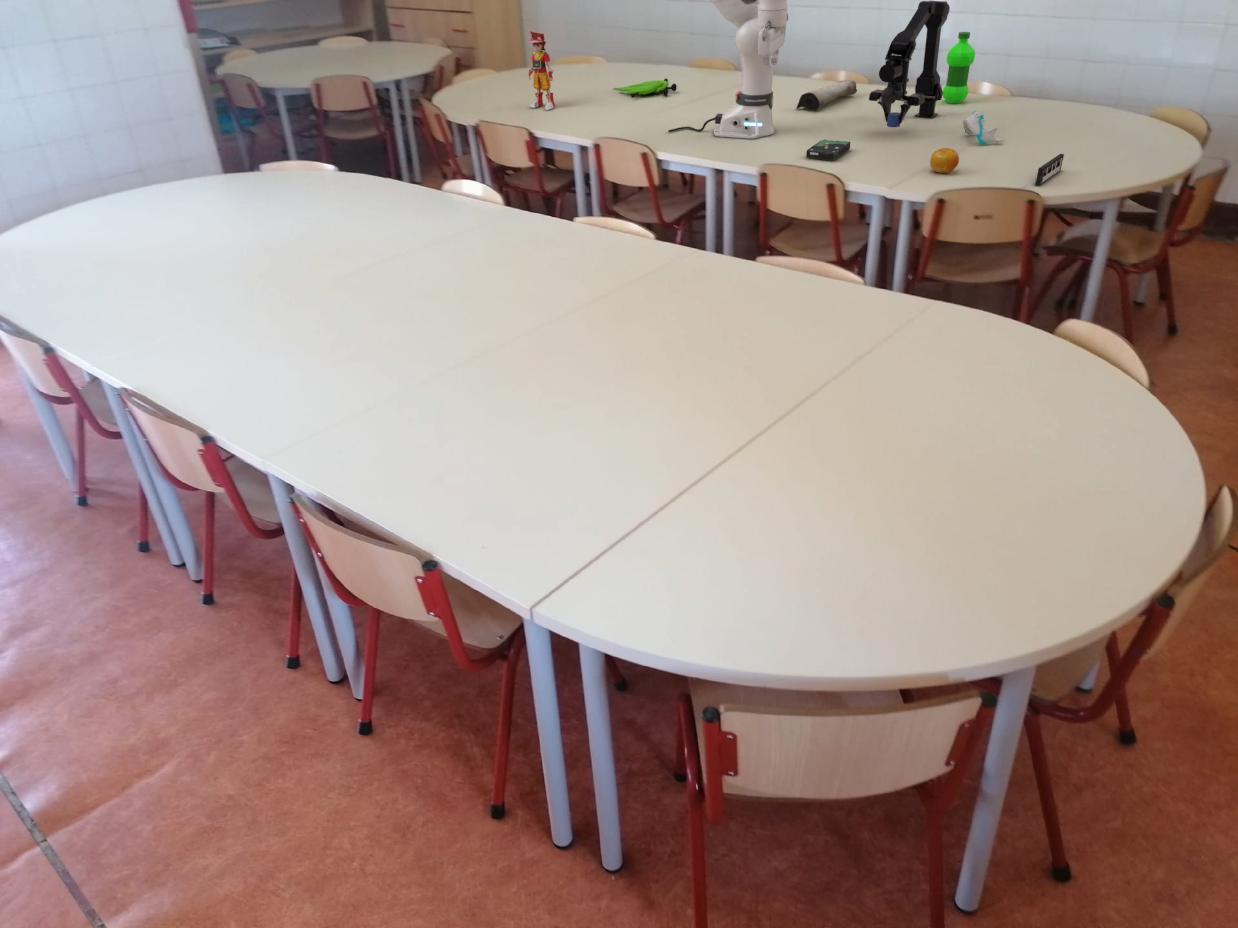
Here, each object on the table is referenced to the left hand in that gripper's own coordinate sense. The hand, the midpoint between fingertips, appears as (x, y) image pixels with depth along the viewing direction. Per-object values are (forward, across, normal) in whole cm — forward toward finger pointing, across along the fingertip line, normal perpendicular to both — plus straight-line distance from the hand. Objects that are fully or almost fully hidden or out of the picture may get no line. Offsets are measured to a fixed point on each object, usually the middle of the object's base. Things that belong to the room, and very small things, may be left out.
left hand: (770, 67), depth 282 cm
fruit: (+31, +5, -56) cm, 64 cm away
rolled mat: (+31, +87, -4) cm, 93 cm away
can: (+28, +47, -35) cm, 65 cm away
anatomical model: (+31, +43, -64) cm, 83 cm away
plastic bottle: (+31, +96, -52) cm, 113 cm away
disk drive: (+31, +17, -17) cm, 39 cm away
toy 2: (+31, +94, +80) cm, 127 cm away
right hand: (+27, +47, -35) cm, 64 cm away
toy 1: (+30, +61, +113) cm, 132 cm away
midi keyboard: (+31, +5, -87) cm, 92 cm away
